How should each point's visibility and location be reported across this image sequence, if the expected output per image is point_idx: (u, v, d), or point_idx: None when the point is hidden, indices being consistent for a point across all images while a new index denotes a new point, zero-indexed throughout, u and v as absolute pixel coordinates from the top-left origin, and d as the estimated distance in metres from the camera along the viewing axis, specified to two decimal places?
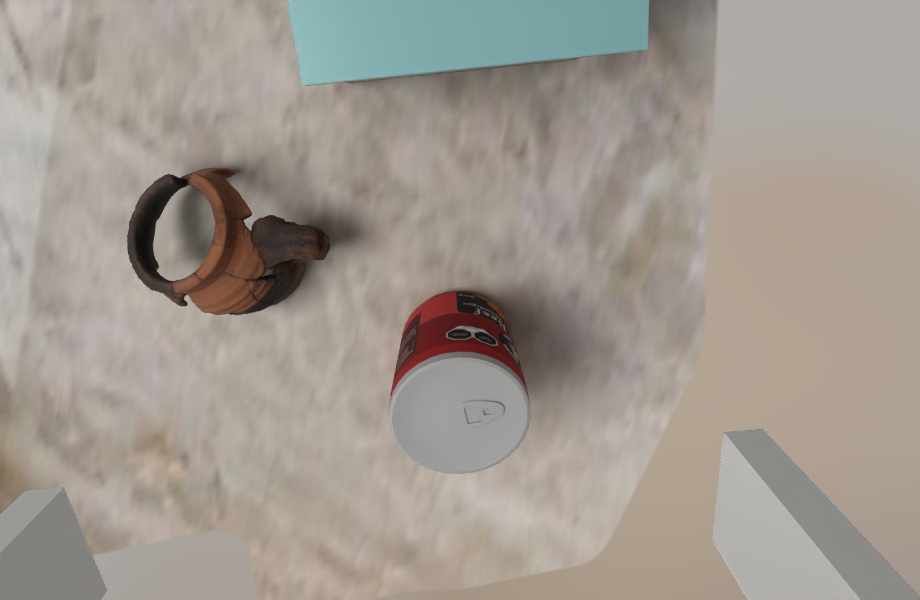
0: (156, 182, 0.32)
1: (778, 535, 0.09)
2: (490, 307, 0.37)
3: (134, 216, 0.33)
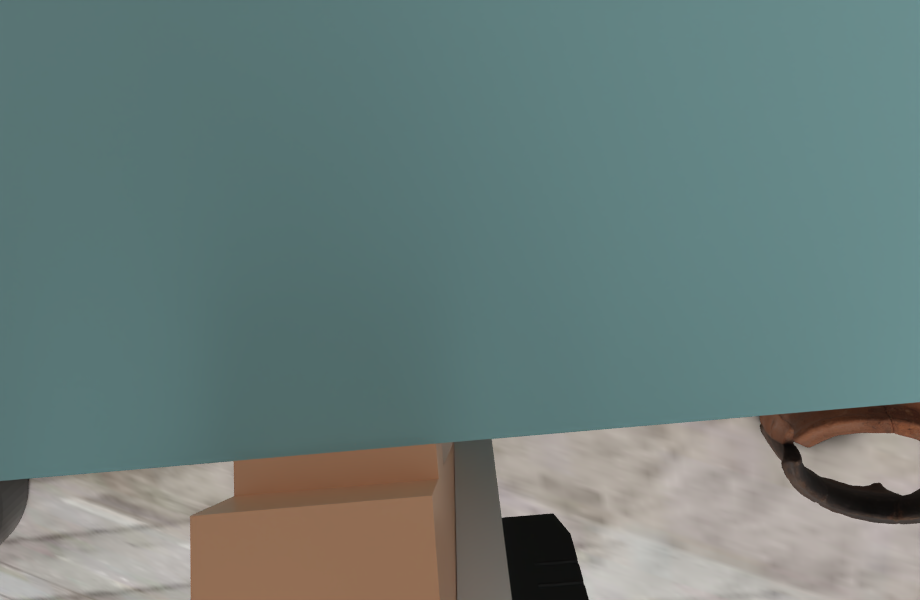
0: (789, 476, 0.26)
1: None
2: None
3: (827, 506, 0.26)
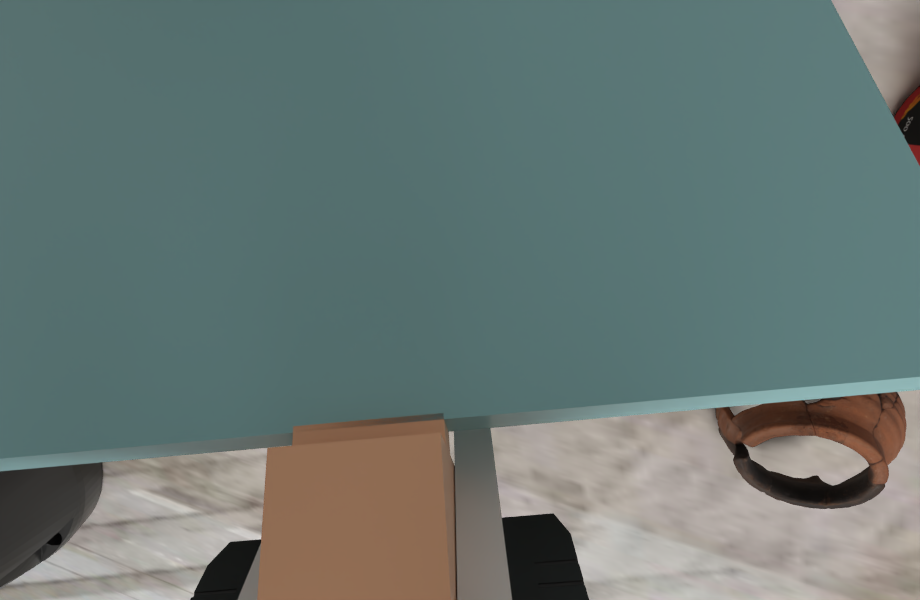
0: (740, 470, 0.32)
1: None
2: None
3: (772, 494, 0.32)
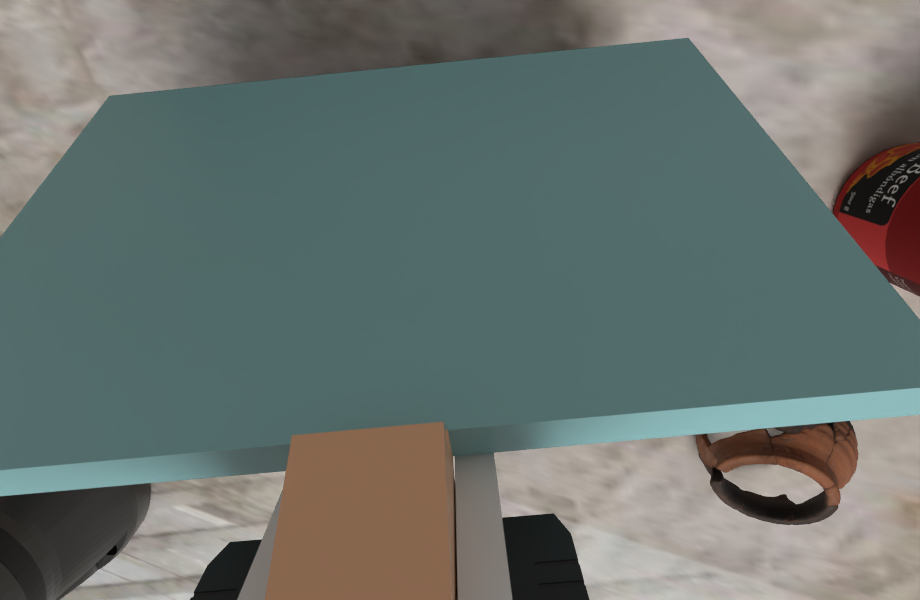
0: (716, 491, 0.37)
1: None
2: (877, 175, 0.30)
3: (744, 512, 0.37)
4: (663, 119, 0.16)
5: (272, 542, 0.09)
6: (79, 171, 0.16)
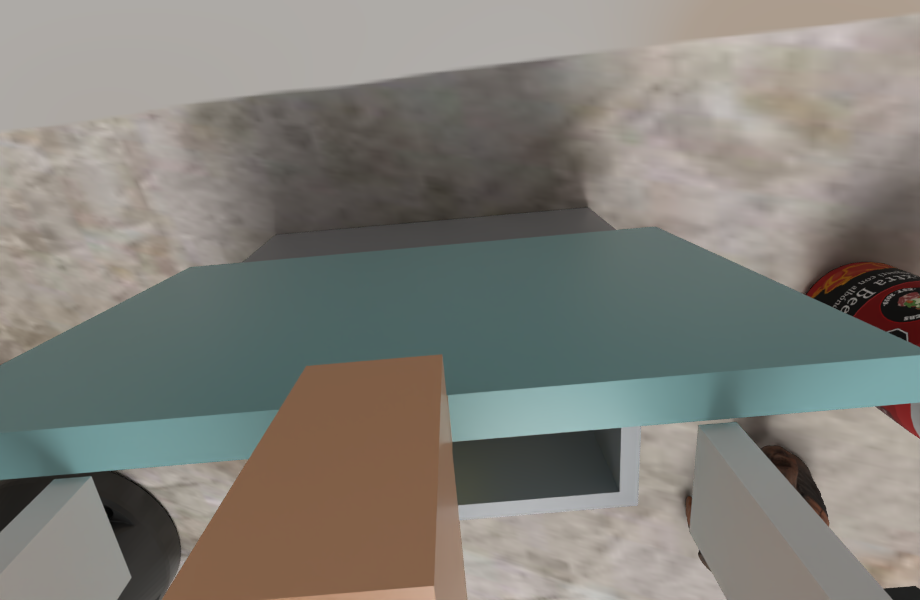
0: (703, 562, 0.41)
1: (747, 523, 0.09)
2: (832, 293, 0.35)
3: None
4: (638, 256, 0.19)
5: None
6: (154, 296, 0.19)
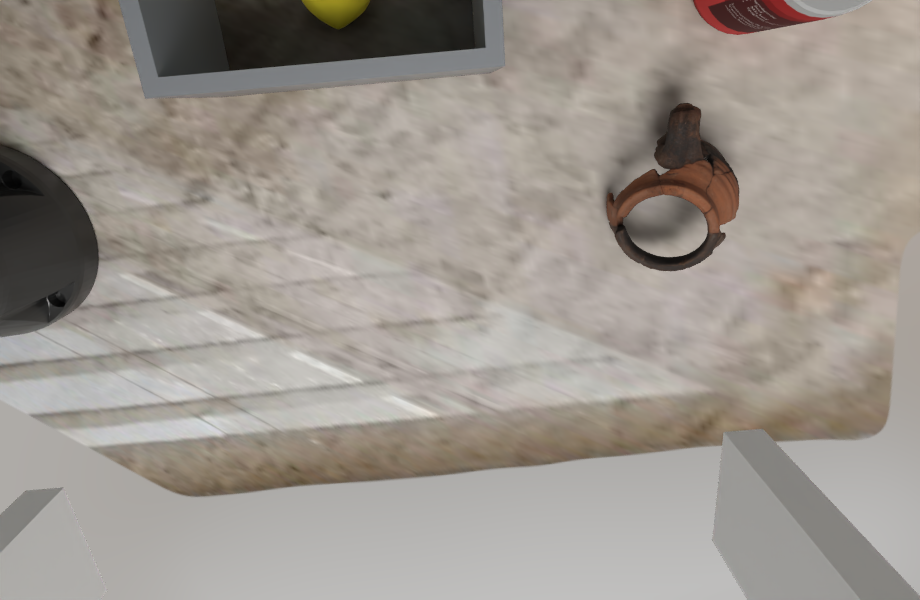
0: (620, 244, 0.41)
1: (778, 534, 0.09)
2: None
3: (646, 263, 0.42)
4: None
5: None
6: None
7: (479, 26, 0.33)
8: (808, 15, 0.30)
